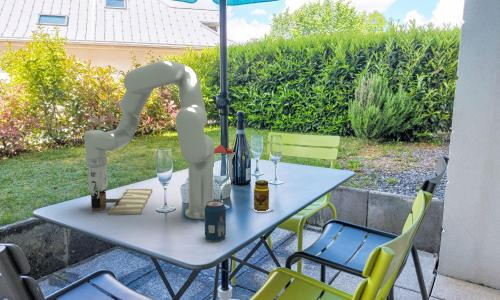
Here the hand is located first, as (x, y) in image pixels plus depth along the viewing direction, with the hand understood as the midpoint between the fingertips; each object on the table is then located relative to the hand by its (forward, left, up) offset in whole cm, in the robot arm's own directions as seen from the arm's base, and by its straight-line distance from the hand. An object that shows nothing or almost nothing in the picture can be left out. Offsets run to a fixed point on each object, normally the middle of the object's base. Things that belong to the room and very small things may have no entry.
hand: (99, 204), depth 148 cm
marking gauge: (0, -3, -2) cm, 4 cm away
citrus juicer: (+36, -49, -2) cm, 61 cm away
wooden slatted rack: (+8, -11, -2) cm, 14 cm away
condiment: (-5, -65, -2) cm, 65 cm away
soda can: (-32, -46, -2) cm, 56 cm away
